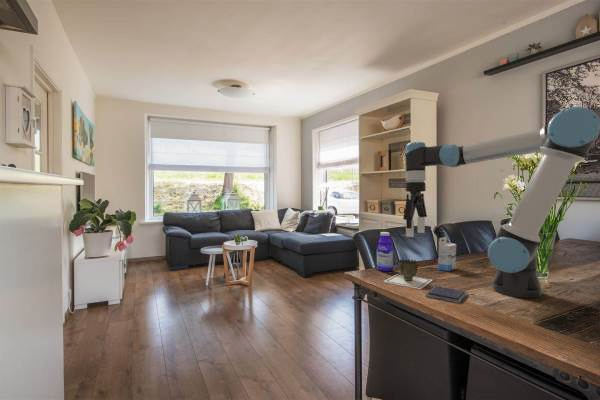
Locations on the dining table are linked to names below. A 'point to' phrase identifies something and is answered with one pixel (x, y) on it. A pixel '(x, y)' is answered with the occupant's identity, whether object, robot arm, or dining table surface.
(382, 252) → the bottle
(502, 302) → the dining table surface
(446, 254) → the ink box
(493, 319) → the dining table surface
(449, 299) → the ink pad
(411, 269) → the cup
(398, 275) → the print sheet
